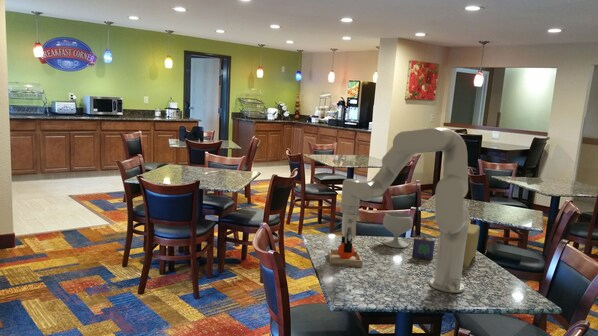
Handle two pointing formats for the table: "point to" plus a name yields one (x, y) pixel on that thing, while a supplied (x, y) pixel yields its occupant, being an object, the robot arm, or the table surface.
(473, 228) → the cheese
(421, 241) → the flask
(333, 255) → the tray
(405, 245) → the chalice
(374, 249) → the table surface
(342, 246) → the clementine
